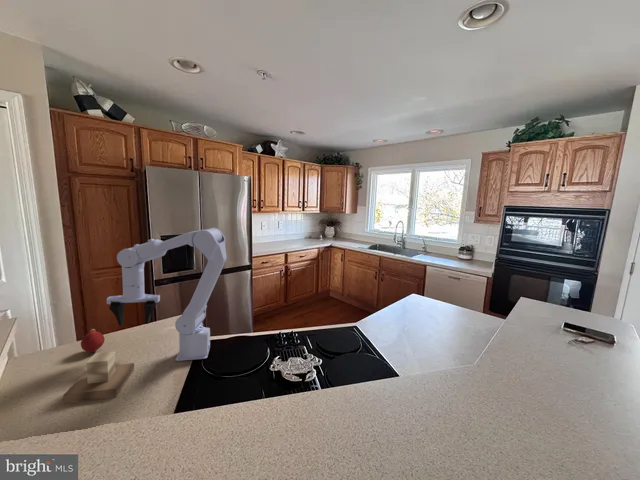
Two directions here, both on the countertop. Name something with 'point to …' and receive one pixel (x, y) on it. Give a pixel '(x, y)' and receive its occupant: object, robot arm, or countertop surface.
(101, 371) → the beech block
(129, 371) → the walnut block
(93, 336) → the onion
